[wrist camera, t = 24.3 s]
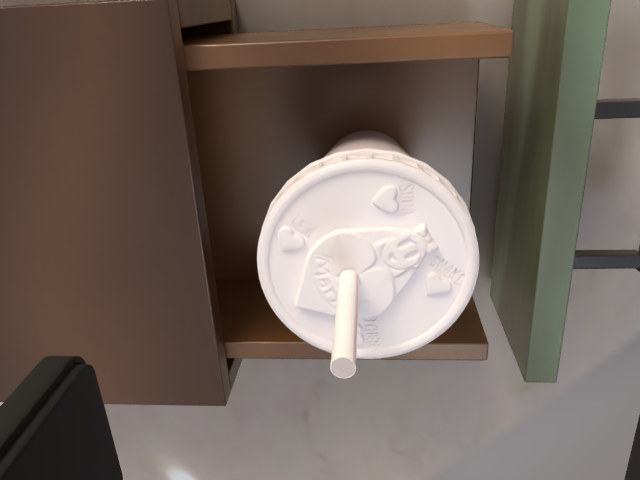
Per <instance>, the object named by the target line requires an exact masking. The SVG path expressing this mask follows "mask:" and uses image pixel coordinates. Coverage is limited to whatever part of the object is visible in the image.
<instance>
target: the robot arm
mask: <svg viewBox="0 0 640 480" xmlns="http://www.w3.org/2000/svg"><path fill="white" fill-rule="evenodd" d="M0 480H123V476H122V472H121V468H120V464H119V460H118V456H117V453H116V449H115V445H114V441H113V438H112V434H111V430H110V426H109V422H108V419H107V415H106V411H105V407H104V404H103V400H102V396H101V392H100V388H99V385H98V381H97V377H96V373H95V370H94V368H93V367H92V365H89V364H86V362H85V360H84V359H83V358H82V357H80V356H46V357H44V358H43V359H42V360H41V361H40V362H39V363H38V364H37V365H36V366H35V368H34V369H33V370H32V371H31V372H30V373H29V374H28V375H27V377H26V378H25V379H24V380H23V381H22V382H21V383H20V385H19V386H18V387H17V388H16V389H15V390H14V391H13V392H12V394H11V395H10V396H9V397H8V398H7V399H6V400H5V402H4V403H3V404H2V405H1V406H0ZM625 480H640V416H639V421H638V424H637V429H636V433H635V437H634V441H633V446H632V450H631V454H630V459H629V463H628V467H627V471H626V476H625Z"/></svg>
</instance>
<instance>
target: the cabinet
mask: <svg viewBox="0 0 640 480" xmlns="http://www.w3.org/2000/svg"><path fill="white" fill-rule="evenodd" d="M233 33H238V28H237V18H236V8H235V0H114V1H96V2H78V3H60V4H42V5H24V6H6V7H0V402H5V400H6V399H7V398H8V397H9V396H10V395H11V394H12V392H13V391H14V390H15V389H16V388H17V387H18V386H19V385H20V383H21V382H22V381H23V380H24V379H25V378H26V377H27V375H28V374H29V373H30V372H31V371H32V370H33V369H34V368H35V366H36V365H37V364H38V363H39V362H40V361H41V360H42V359H43V358H44V357H46V356H80V357H82V358H83V359H84V360H85V362H86V364H89V365H92V367H93V368H94V370H95V373H96V377H97V381H98V385H99V388H100V392H101V396H102V400H103V404H139V405H199V406H226V404H227V401H228V398H229V395H230V392H231V389H232V386H233V383H234V381H235V378H236V375H237V372H238V369H239V366H240V364H241V361H242V358H226V354H225V347H224V339H223V332H222V325H221V318H220V310H219V303H218V296H217V289H216V282H215V274H214V267H213V260H212V253H211V245H210V238H209V231H208V224H207V216H206V209H205V202H204V195H203V188H202V180H201V173H200V166H199V159H198V151H197V144H196V137H195V130H194V122H193V115H192V108H191V101H190V94H189V86H188V79H187V72H186V65H185V57H184V50H183V43H182V36H192V35H213V34H233Z"/></svg>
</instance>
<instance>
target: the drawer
mask: <svg viewBox="0 0 640 480" xmlns="http://www.w3.org/2000/svg"><path fill="white" fill-rule="evenodd" d="M610 6H611V0H514V4H513V17H512V29H511V30H509V29H505V28H501V27H497V26H492V25H488V24H484V23H480V22H460V23H440V24H419V25H398V26H378V27H357V28H336V29H316V30H295V31H275V32H254V33H233V34H213V35H192V36H182V43H183V50H184V57H185V65H186V72H187V79H188V86H189V94H190V101H191V108H192V115H193V122H194V130H195V137H196V144H197V151H198V159H199V166H200V173H201V180H202V188H203V195H204V202H205V209H206V216H207V224H208V231H209V238H210V245H211V253H212V260H213V267H214V274H215V282H216V289H217V296H218V303H219V310H220V318H221V325H222V332H223V339H224V347H225V354H226V358H260V359H331V355H332V353H329V352H327V351H324V350H322V349H319V348H317V347H315V346H313V345H311V344H309V343H308V342H306V341H304V340H303V339H301V338H300V337H299V336H297V335H296V334H294V333H293V332H292V331H291V330H290V329H289V328H288V327H287V326H286V325H285V324H284V323H283V322H282V321H281V320H280V319H279V318H278V316H277V315H276V314H275V312H274V311H273V309H272V308H271V306H270V305H269V303H268V301H267V299H266V297H265V295H264V292H263V289H262V287H261V283H260V280H259V275H258V269H257V248H258V242H259V237H260V234H261V230H262V226H263V223H264V220H265V218H266V215H267V212H268V209H269V207H270V204H271V202H272V201H273V200H274V198H275V197H276V196H277V194H278V193H279V191H280V190H281V189H282V187H283V186H284V185H285V183H286V182H287V181H288V180H289V179H291V178H292V177H293V176H294V175H296V174H297V173H298V172H300V171H301V170H302V169H303V168H305V167H306V166H307V165H309V164H310V163H312V162H315V161H317V160H320V159H322V158H323V157H324V156H325V155H326V154H327V153H328V152H329V151H330V150H331V149H332V148H333V147H334V145H335V144H336V143H337V142H338V141H340V140H341V139H342V138H344V137H345V136H347V135H349V134H351V133H354V132H357V131H364V130H371V131H377V132H381V133H384V134H386V135H388V136H390V137H391V138H393V139H394V140H395V141H396V142H397V143H398V144H399V145H400V146H401V147H402V148H403V149H404V150H405V151H406V152H407V153H408V155H409V156H410V157H412V158H414V159H417V160H419V161H422V162H424V163H426V164H428V165H429V166H430V167H431V168H433V169H434V170H435V171H437V172H438V173H439V174H441V175H442V176H443V177H445V178H446V179H447V180H449V182H450V183H451V184H452V186H453V187H454V188H455V190H456V191H457V192H458V194H459V195H460V196H461V198H462V199H463V200H464V202H465V203H466V205H467V208H468V211H469V213H470V206H471V190H472V173H473V157H474V140H475V124H476V107H477V91H478V74H479V59H485V58H509V66H508V79H507V91H506V104H505V116H504V128H503V141H502V153H501V166H500V178H499V191H498V203H497V215H496V228H495V240H494V253H493V265H492V277H491V290H490V296H491V298H492V301H493V303H494V306H495V308H496V311H497V313H498V316H499V318H500V321H501V323H502V326H503V328H504V331H505V333H506V336H507V338H508V341H509V343H510V346H511V348H512V351H513V353H514V356H515V358H516V361H517V363H518V366H519V368H520V371H521V373H522V376H523V378H524V381H525V382H556V381H557V374H558V367H559V360H560V353H561V346H562V340H563V333H564V326H565V319H566V312H567V305H568V298H569V291H570V284H571V277H572V270H573V269H605V268H636V269H637V270H638V271H639V272H640V245H639V250H638V251H637V250H575V249H576V242H577V235H578V228H579V221H580V214H581V207H582V200H583V193H584V186H585V179H586V173H587V166H588V159H589V152H590V145H591V138H592V131H593V124H594V119H612V118H640V98H632V99H603V100H597V96H598V89H599V82H600V75H601V68H602V61H603V54H604V47H605V40H606V33H607V26H608V19H609V12H610ZM487 356H488V341H487V338H486V336H485V333H484V330H483V327H482V324H481V321H480V318H479V315H478V312H477V309H476V306H475V303H474V300H473V297H472V296H471V298H470V300H469V302H468V304H467V305H466V307H465V309H464V310H463V312H462V313H461V315H460V316H459V317H458V319H457V320H456V321H455V322H454V323H453V324H452V325H451V326H450V327H449V328H448V329H447V330H446V331H445V332H444V333H442V334H441V335H440V336H438V337H437V338H436V339H434V340H433V341H431V342H429V343H428V344H426V345H424V346H422V347H420V348H418V349H415V350H413V351H410V352H408V353H404V354H401V355H397V356H392V357H387V358H379V359H381V360H487ZM356 359H358V358H356Z"/></svg>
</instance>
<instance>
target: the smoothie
mask: <svg viewBox="0 0 640 480" xmlns="http://www.w3.org/2000/svg"><path fill="white" fill-rule="evenodd" d="M257 269H258V275H259V280H260V283H261V287H262V289H263V292H264V295H265V297H266V299H267V301H268V303H269V305H270V306H271V308H272V309H273V311H274V312H275V314H276V315H277V316H278V318H279V319H280V320H281V321H282V322H283V323H284V324H285V325H286V326H287V327H288V328H289V329H290V330H291V331H292V332H293V333H294V334H296V335H297V336H299V337H300V338H301V339H303V340H304V341H306V342H308V343H309V344H311V345H313V346H315V347H317V348H319V349H322V350H324V351H327V352H329V353H332V355H331V364H330V369H331V372H332V373H333V374H334V375H335V376H336V377H339V378H349V377H351V376H352V375H353V374H354V373H355V371H356V358H358V359H379V358H387V357H392V356H397V355H401V354H404V353H408V352H410V351H413V350H415V349H418V348H420V347H422V346H424V345H426V344H428V343H429V342H431V341H433V340H434V339H436V338H437V337H438V336H440V335H441V334H442V333H444V332H445V331H446V330H447V329H448V328H449V327H450V326H451V325H452V324H453V323H454V322H455V321H456V320H457V319H458V317H459V316H460V315H461V313H462V312H463V310H464V309H465V307H466V305H467V304H468V302H469V300H470V298H471V296H472V293H473V291H474V288H475V285H476V281H477V276H478V270H479V249H478V242H477V237H476V233H475V227H474V224H473V222H472V219H471V216H470V213H469V211H468V208H467V205H466V203H465V202H464V200H463V199H462V198H461V196H460V195H459V194H458V192H457V191H456V190H455V188H454V187H453V186H452V184H451V183H450V182H449V180H447V179H446V178H445V177H443V176H442V175H441V174H439V173H438V172H437V171H435V170H434V169H433V168H431V167H430V166H429V165H428V164H426V163H424V162H422V161H419V160H417V159H414V158H412V157H410V156H409V155H408V153H407V152H406V151H405V150H404V149H403V148H402V147H401V146H400V145H399V144H398V143H397V142H396V141H395V140H394V139H393V138H391V137H390V136H388V135H386V134H384V133H381V132H377V131H371V130H364V131H357V132H354V133H351V134H349V135H347V136H345V137H344V138H342V139H341V140H340V141H338V142H337V143H336V144H335V145H334V147H333V148H332V149H331V150H330V151H329V152H328V153H327V154H326V155H325V156H324V157H323V158H322V159H320V160H317V161H315V162H312V163H310V164H309V165H307V166H306V167H305V168H303V169H302V170H301V171H300V172H298V173H297V174H296V175H294V176H293V177H292V178H291V179H289V180H288V181H287V182H286V183H285V185H284V186H283V187H282V189H281V190H280V191H279V193H278V194H277V196H276V197H275V198H274V200H273V201H272V202H271V204H270V207H269V209H268V212H267V215H266V218H265V220H264V223H263V226H262V230H261V234H260V237H259V242H258V248H257Z"/></svg>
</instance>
